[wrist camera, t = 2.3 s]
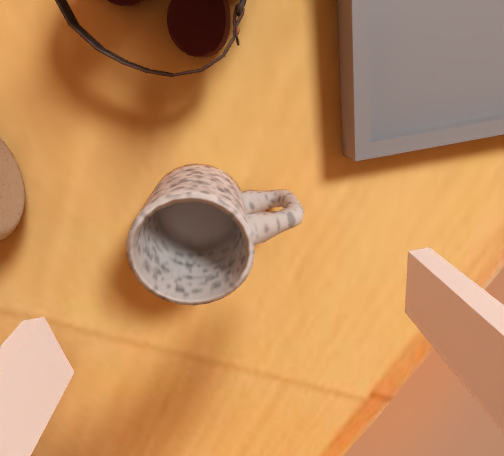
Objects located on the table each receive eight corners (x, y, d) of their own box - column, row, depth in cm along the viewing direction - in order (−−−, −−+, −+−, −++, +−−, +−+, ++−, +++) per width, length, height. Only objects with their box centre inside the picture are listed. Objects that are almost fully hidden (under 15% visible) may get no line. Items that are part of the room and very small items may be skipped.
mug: (168, 259, 24) (152, 316, 18) (137, 176, 21) (105, 211, 15) (296, 229, 24) (322, 276, 18) (281, 141, 21) (305, 163, 15)
